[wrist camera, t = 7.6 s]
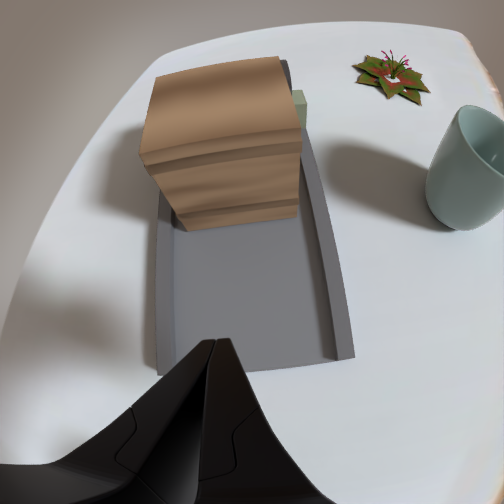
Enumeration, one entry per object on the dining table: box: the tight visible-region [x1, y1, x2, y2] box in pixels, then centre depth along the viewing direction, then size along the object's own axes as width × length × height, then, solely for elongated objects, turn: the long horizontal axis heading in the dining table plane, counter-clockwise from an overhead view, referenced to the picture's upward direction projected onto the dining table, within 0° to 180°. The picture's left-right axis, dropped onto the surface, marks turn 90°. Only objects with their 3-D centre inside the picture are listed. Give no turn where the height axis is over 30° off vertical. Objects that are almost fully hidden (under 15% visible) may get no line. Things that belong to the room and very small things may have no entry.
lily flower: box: [352, 50, 431, 106], centre depth 30 cm, size 12×12×5 cm
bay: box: [155, 60, 355, 376], centre depth 21 cm, size 24×14×9 cm, turn 5°
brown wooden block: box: [139, 56, 303, 231], centre depth 21 cm, size 8×9×10 cm
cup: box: [425, 105, 504, 231], centre depth 19 cm, size 8×8×10 cm
